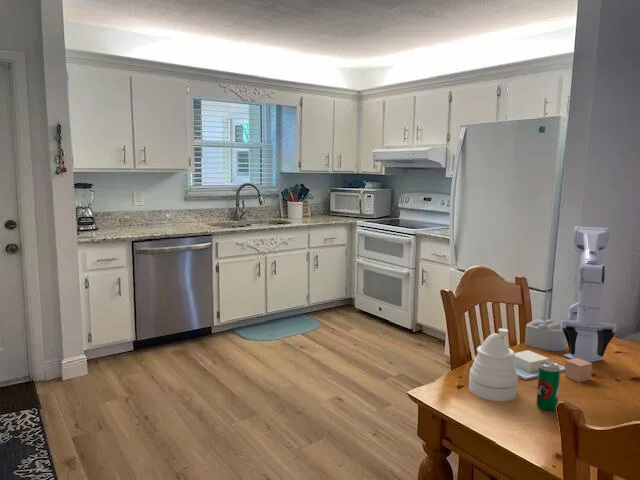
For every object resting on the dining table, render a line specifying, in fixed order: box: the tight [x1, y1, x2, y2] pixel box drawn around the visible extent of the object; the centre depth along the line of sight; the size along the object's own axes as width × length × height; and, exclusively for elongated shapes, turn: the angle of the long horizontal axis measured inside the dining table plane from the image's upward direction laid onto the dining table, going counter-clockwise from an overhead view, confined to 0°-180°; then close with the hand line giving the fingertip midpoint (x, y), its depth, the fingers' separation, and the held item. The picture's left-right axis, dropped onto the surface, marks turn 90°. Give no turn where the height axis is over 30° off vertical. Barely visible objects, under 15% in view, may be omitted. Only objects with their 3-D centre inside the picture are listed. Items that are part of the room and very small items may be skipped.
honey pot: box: [468, 328, 519, 402], centre depth 137 cm, size 13×13×18 cm
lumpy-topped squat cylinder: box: [524, 318, 567, 352], centre depth 175 cm, size 10×13×9 cm
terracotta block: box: [564, 358, 593, 383], centre depth 147 cm, size 5×5×5 cm
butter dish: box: [512, 349, 565, 381], centre depth 155 cm, size 18×14×4 cm
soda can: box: [535, 361, 561, 413], centre depth 127 cm, size 5×5×12 cm
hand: (585, 354), depth 138 cm, fingers open, 7 cm apart
